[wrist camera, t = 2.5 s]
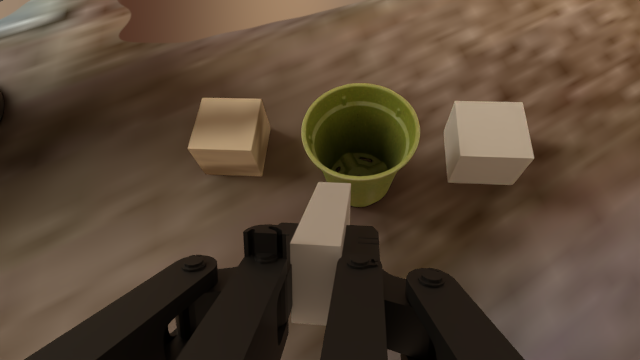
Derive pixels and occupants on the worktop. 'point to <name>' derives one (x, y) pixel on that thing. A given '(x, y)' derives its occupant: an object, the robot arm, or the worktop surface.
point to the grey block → (487, 142)
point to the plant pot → (361, 138)
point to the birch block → (230, 136)
